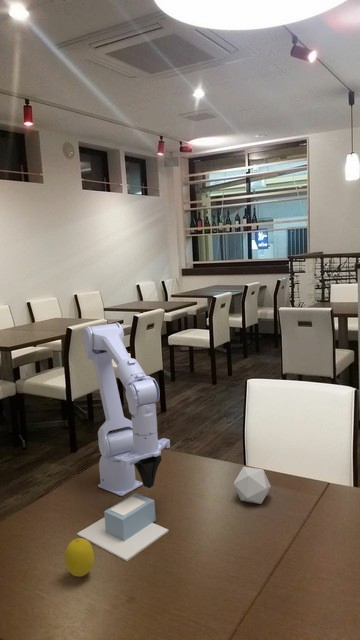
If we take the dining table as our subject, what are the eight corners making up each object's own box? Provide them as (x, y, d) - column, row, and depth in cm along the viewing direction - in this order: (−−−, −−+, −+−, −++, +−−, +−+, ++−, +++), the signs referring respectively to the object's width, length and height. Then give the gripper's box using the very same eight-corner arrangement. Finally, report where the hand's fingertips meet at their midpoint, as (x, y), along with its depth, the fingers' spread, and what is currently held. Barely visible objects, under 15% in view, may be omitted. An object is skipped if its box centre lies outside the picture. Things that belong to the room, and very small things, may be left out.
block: (137, 512, 118) (105, 532, 110) (135, 491, 117) (104, 510, 110) (155, 520, 114) (124, 541, 106) (154, 499, 113) (122, 518, 106)
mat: (77, 534, 110) (77, 533, 110) (119, 509, 120) (119, 508, 120) (126, 561, 100) (126, 559, 100) (168, 531, 110) (168, 529, 110)
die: (275, 497, 124) (257, 461, 127) (277, 496, 116) (258, 458, 119) (245, 511, 123) (228, 474, 127) (246, 511, 115) (228, 472, 119)
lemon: (100, 569, 98) (97, 532, 97) (86, 588, 93) (83, 549, 92) (76, 565, 100) (73, 528, 99) (61, 582, 95) (57, 544, 94)
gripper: (134, 445, 106) (138, 503, 108) (178, 424, 117) (181, 478, 119) (112, 438, 110) (116, 494, 112) (156, 419, 121) (159, 470, 123)
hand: (148, 485), depth 116 cm, fingers closed
